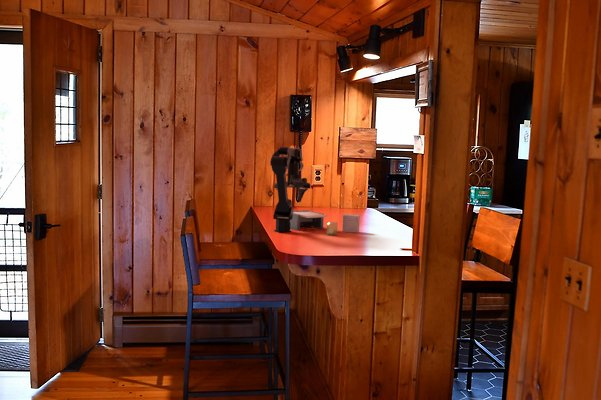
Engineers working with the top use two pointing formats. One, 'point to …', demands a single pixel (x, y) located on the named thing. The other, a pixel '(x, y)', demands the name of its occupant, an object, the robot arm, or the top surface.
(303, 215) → the trapdoor flap
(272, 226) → the top surface
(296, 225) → the trapdoor stand
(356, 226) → the medicine box
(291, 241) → the top surface
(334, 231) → the cylinder
